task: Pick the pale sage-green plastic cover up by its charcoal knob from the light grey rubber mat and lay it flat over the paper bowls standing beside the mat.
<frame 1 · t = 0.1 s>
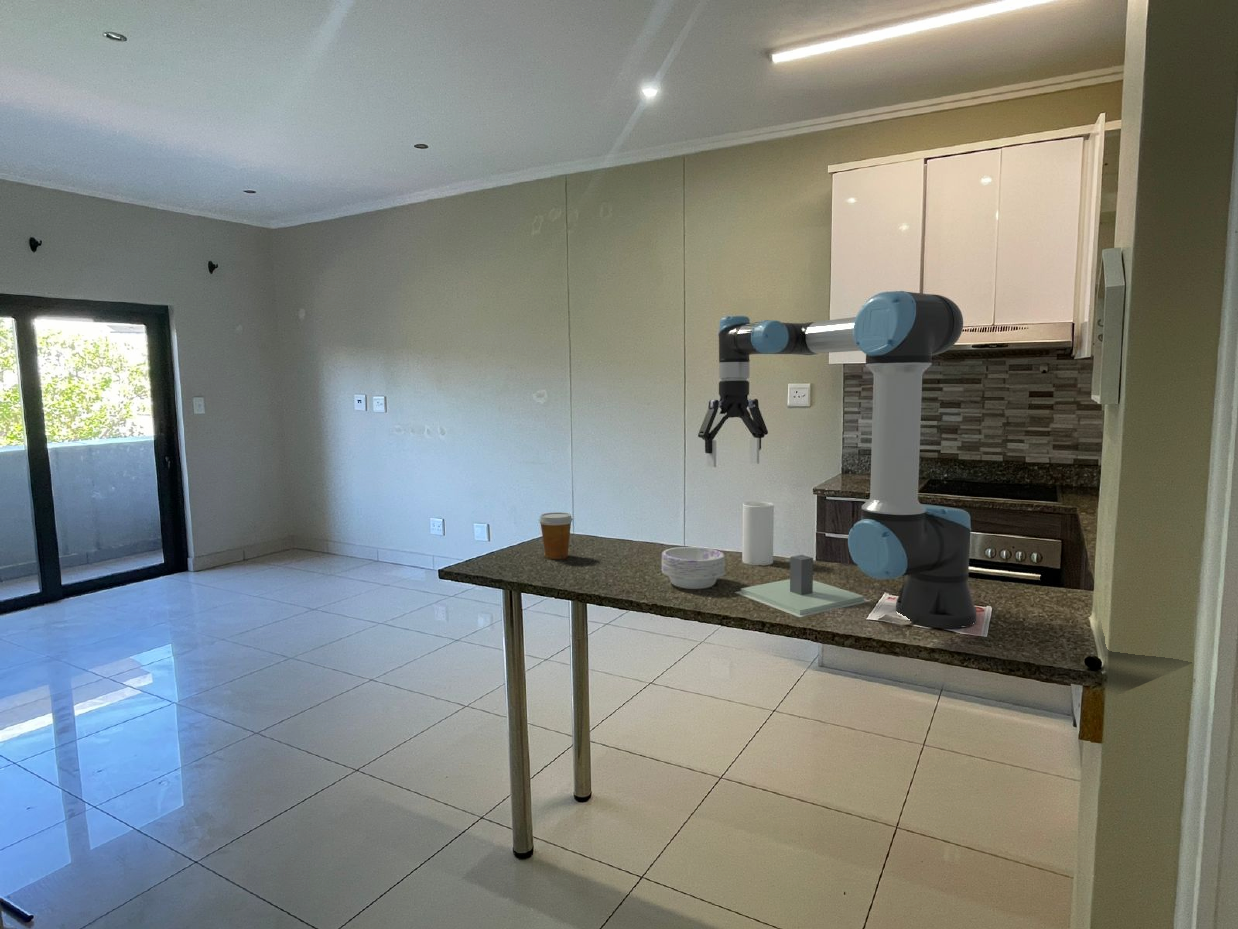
hand: (733, 464, 179), 28 cm above the breakfast bar, tool pointing down, fingers open, 13 cm apart
cup: (757, 562, 194), on the breakfast bar
paper bowls: (693, 585, 173), on the breakfast bar
cover: (801, 596, 160), resting on mat
disposable coffee cup: (556, 557, 203), on the breakfast bar
mat: (801, 598, 161), on the breakfast bar
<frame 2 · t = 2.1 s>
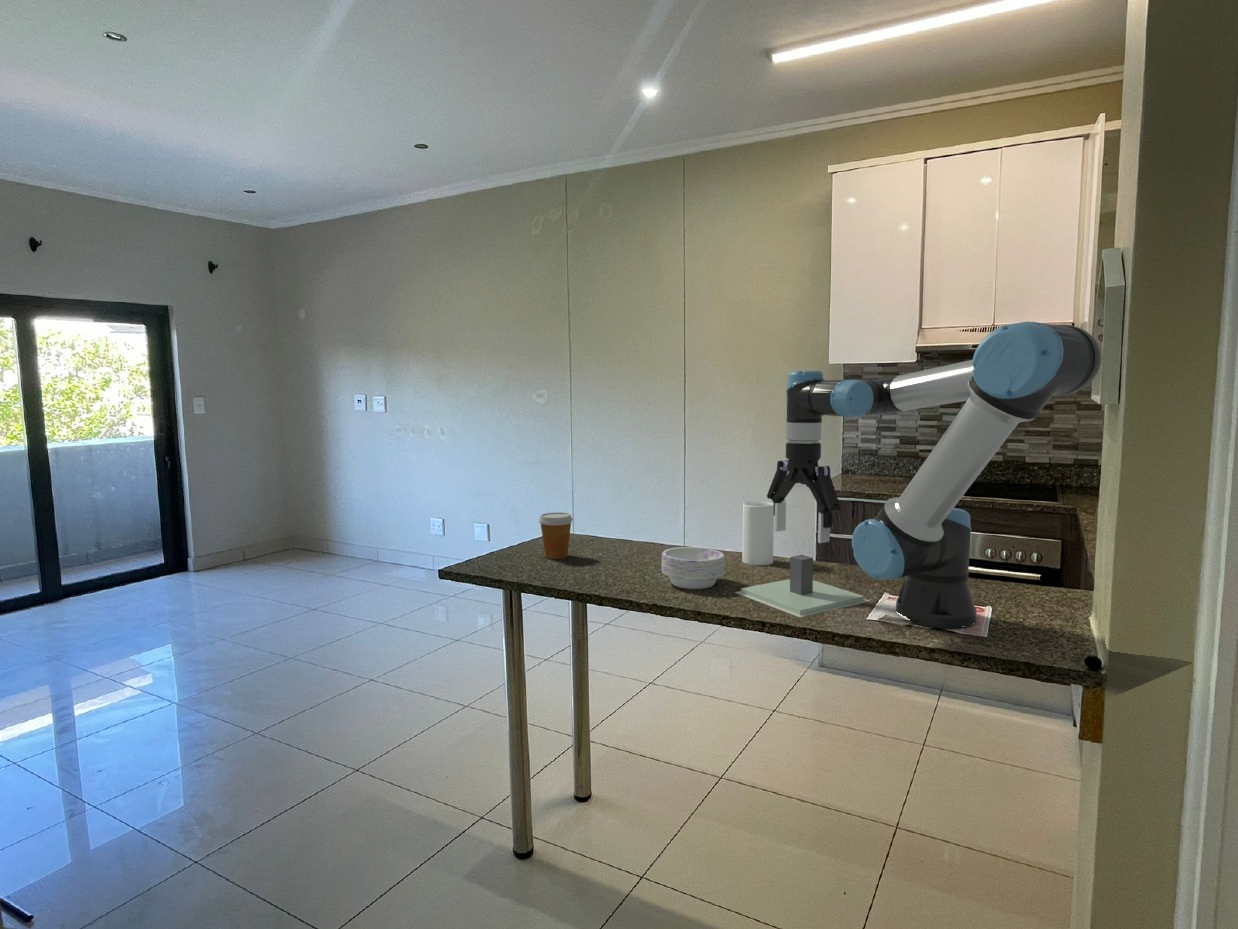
hand: (801, 536, 159), 14 cm above the breakfast bar, tool pointing down, fingers open, 13 cm apart
nothing on the breakfast bar moved.
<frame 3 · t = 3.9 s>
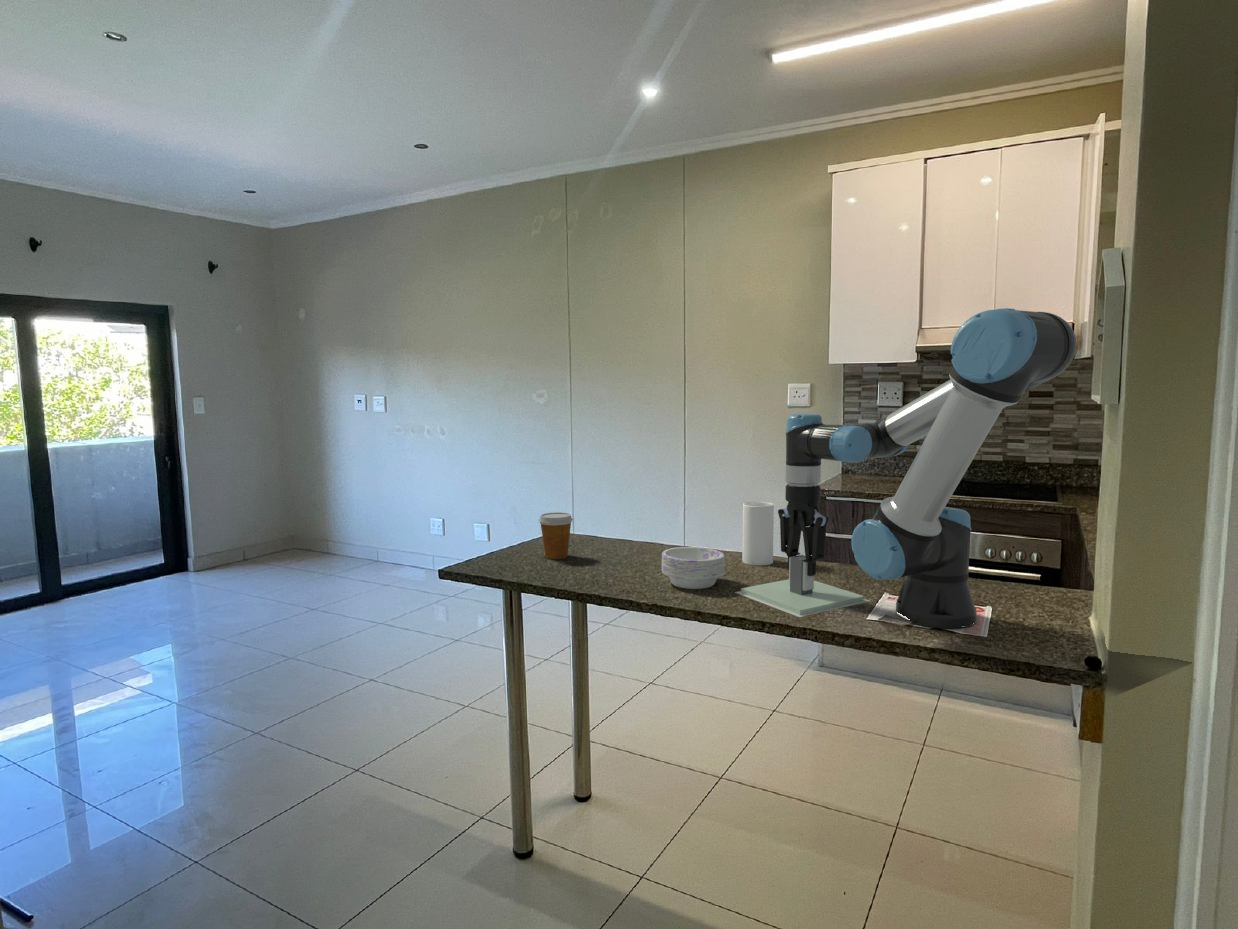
hand: (801, 587, 160), 3 cm above the breakfast bar, tool pointing down, fingers closed on cover, 3 cm apart
cover: (801, 596, 160), resting on mat, touching gripper
everything else where it was.
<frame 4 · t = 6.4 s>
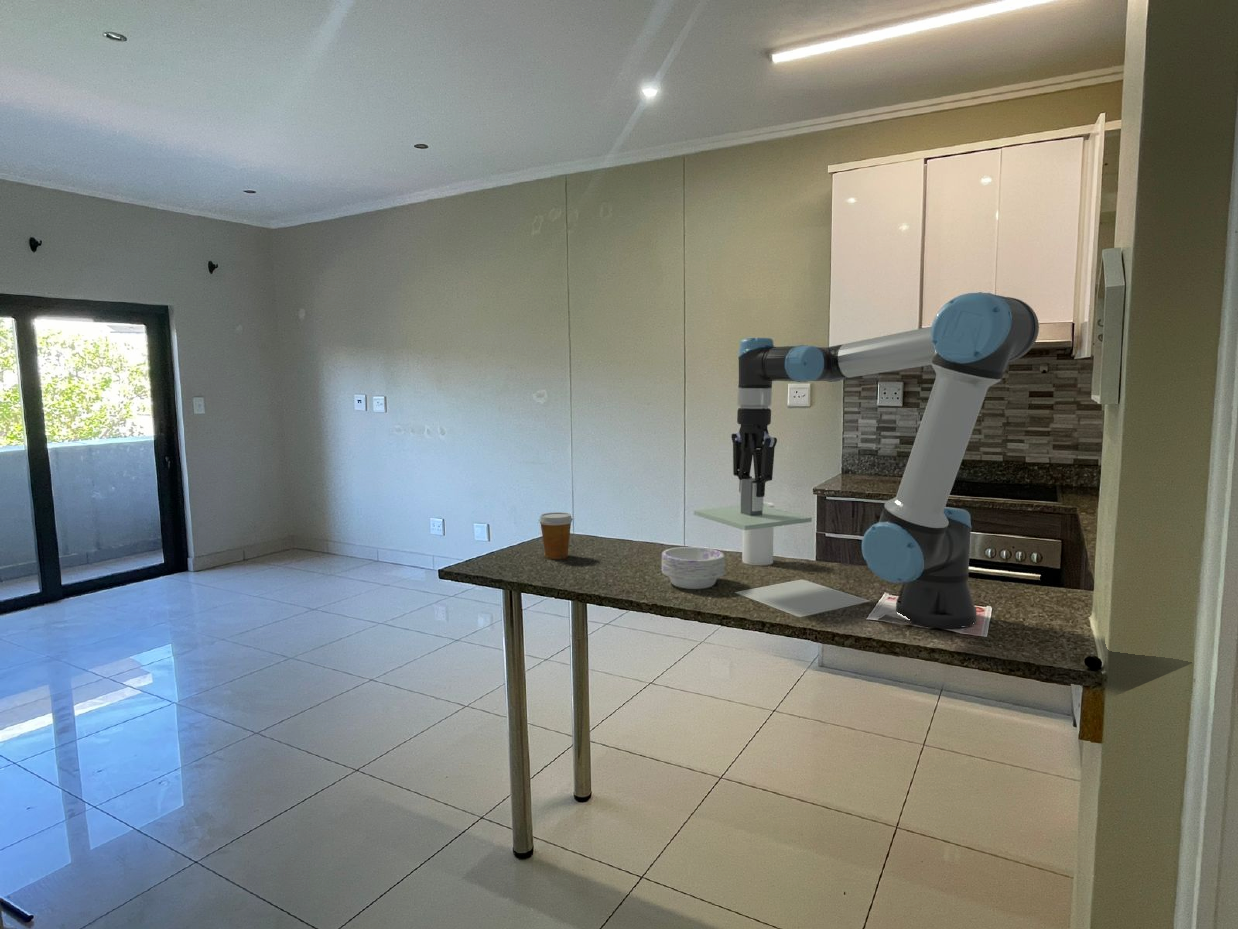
hand: (751, 508, 164), 19 cm above the breakfast bar, tool pointing down, fingers closed on cover, 3 cm apart
cover: (751, 518, 165), point 17 cm above the breakfast bar, touching gripper
everything else where it was.
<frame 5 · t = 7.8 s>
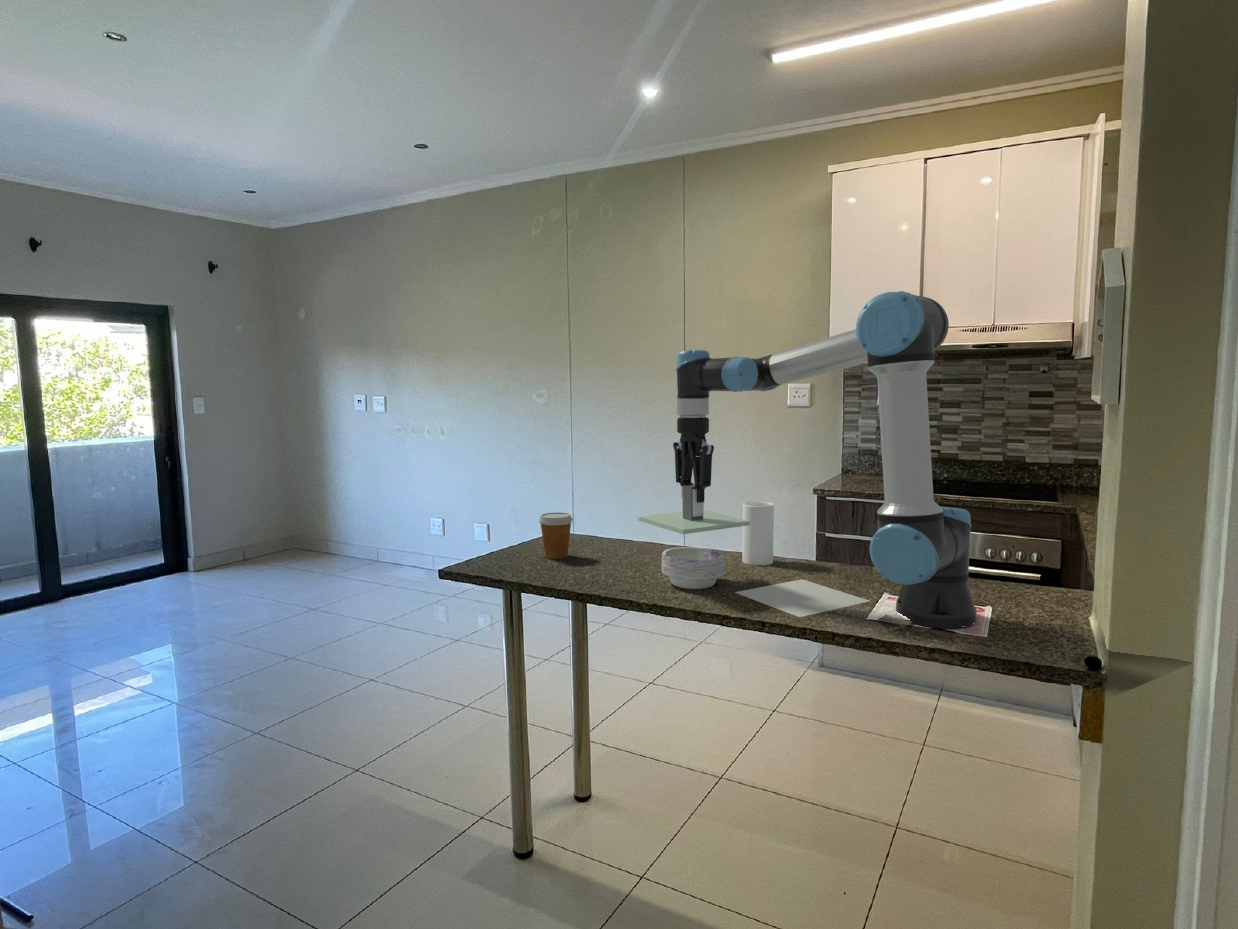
hand: (692, 514, 171), 17 cm above the breakfast bar, tool pointing down, fingers closed on cover, 3 cm apart
cover: (692, 523, 171), point 15 cm above the breakfast bar, touching gripper
everything else where it was.
when the fingers open (12 cm above the breakfast bar, at t = 9.0 s): cover drops 2 cm, resting on paper bowls.
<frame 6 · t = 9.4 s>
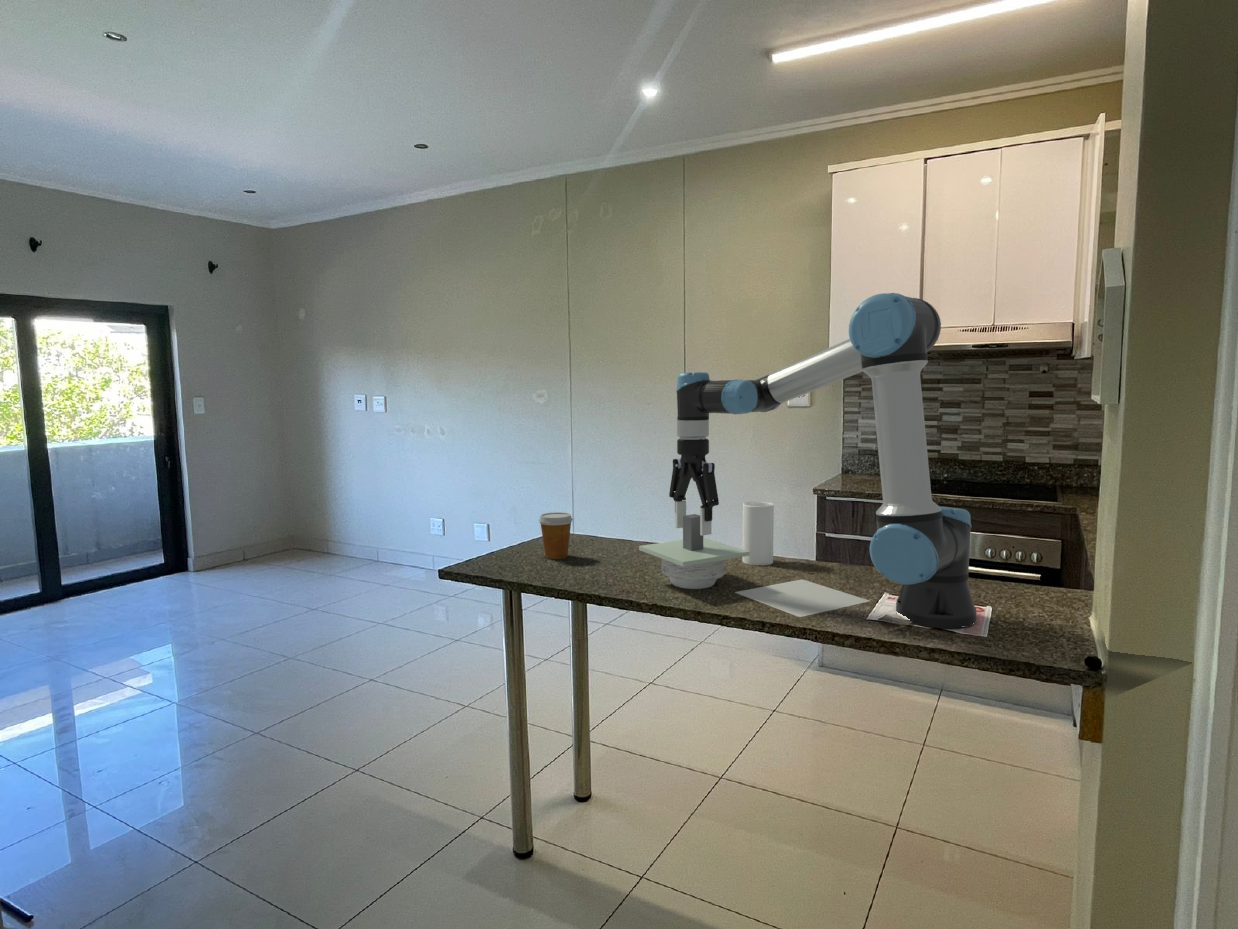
hand: (693, 530, 171), 13 cm above the breakfast bar, tool pointing down, fingers open, 9 cm apart
paper bowls: (692, 585, 173), on the breakfast bar, touching cover
cover: (693, 552, 172), point 8 cm above the breakfast bar, touching paper bowls
everything else where it was.
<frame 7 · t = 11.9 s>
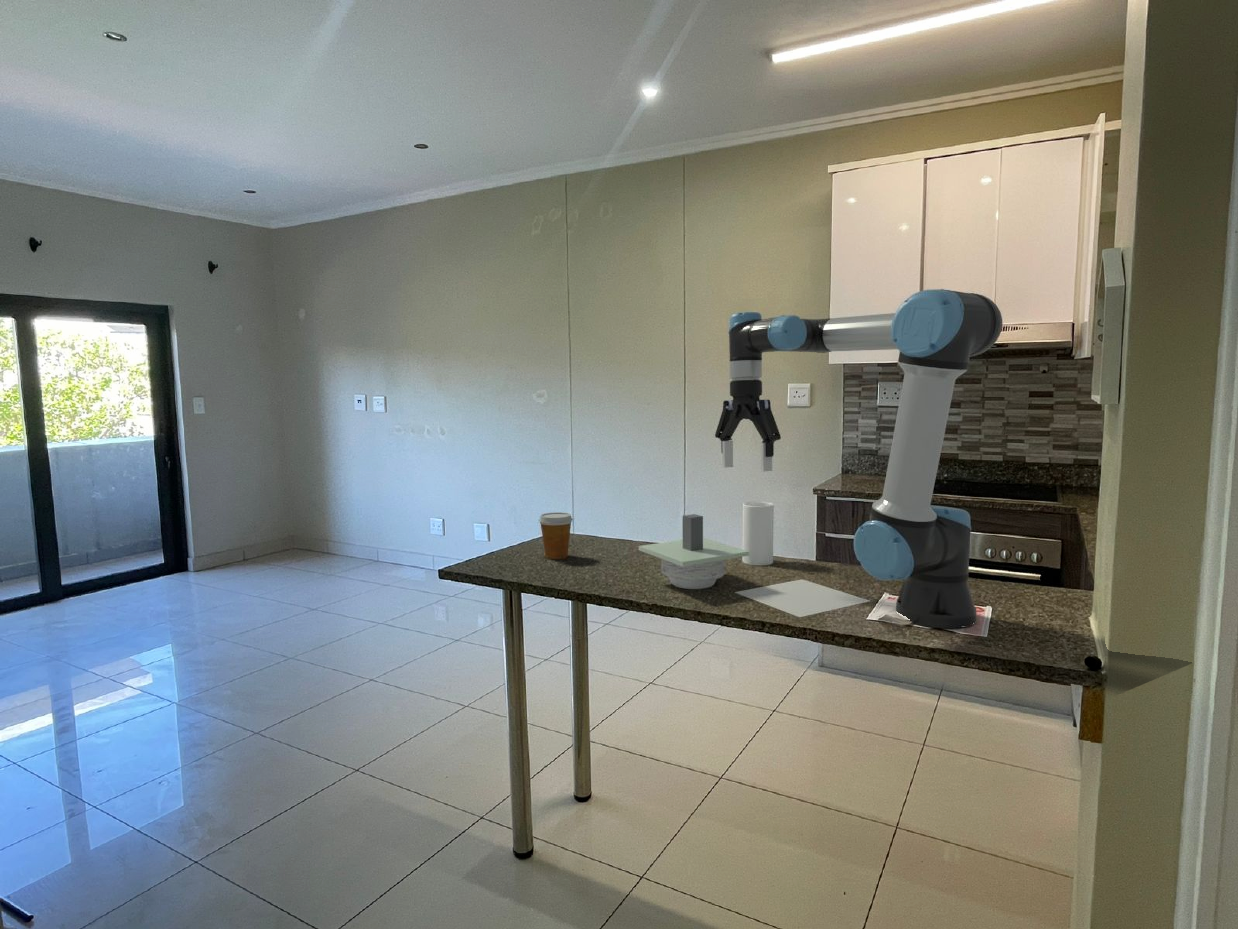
hand: (746, 469, 170), 28 cm above the breakfast bar, tool pointing down, fingers open, 13 cm apart
nothing on the breakfast bar moved.
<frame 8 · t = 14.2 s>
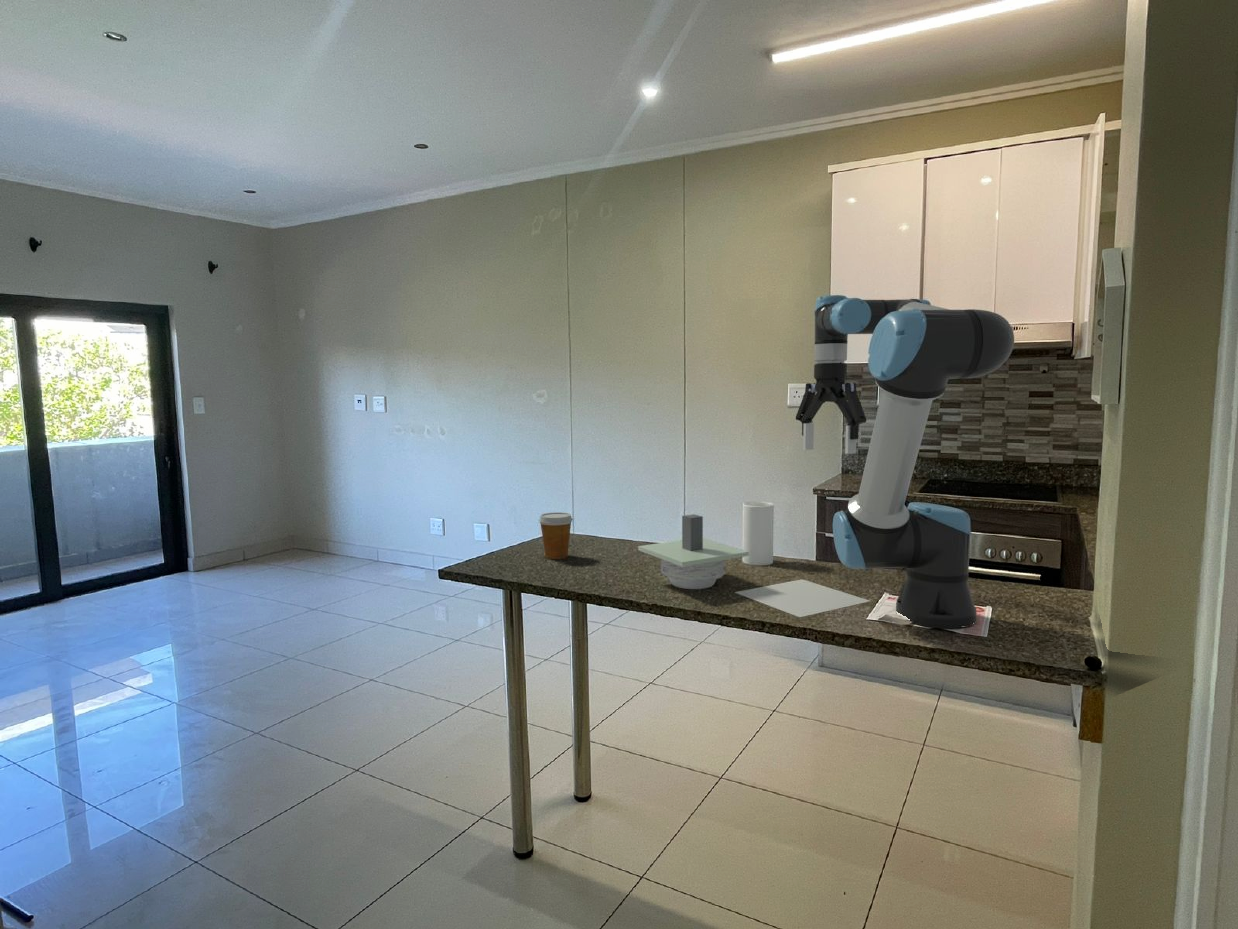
hand: (828, 451, 172), 32 cm above the breakfast bar, tool pointing down, fingers open, 13 cm apart
nothing on the breakfast bar moved.
at the end: cover 0.0 cm from the paper bowls (horizontally); cover point 7.8 cm above the breakfast bar; cover tilted 0° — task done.
